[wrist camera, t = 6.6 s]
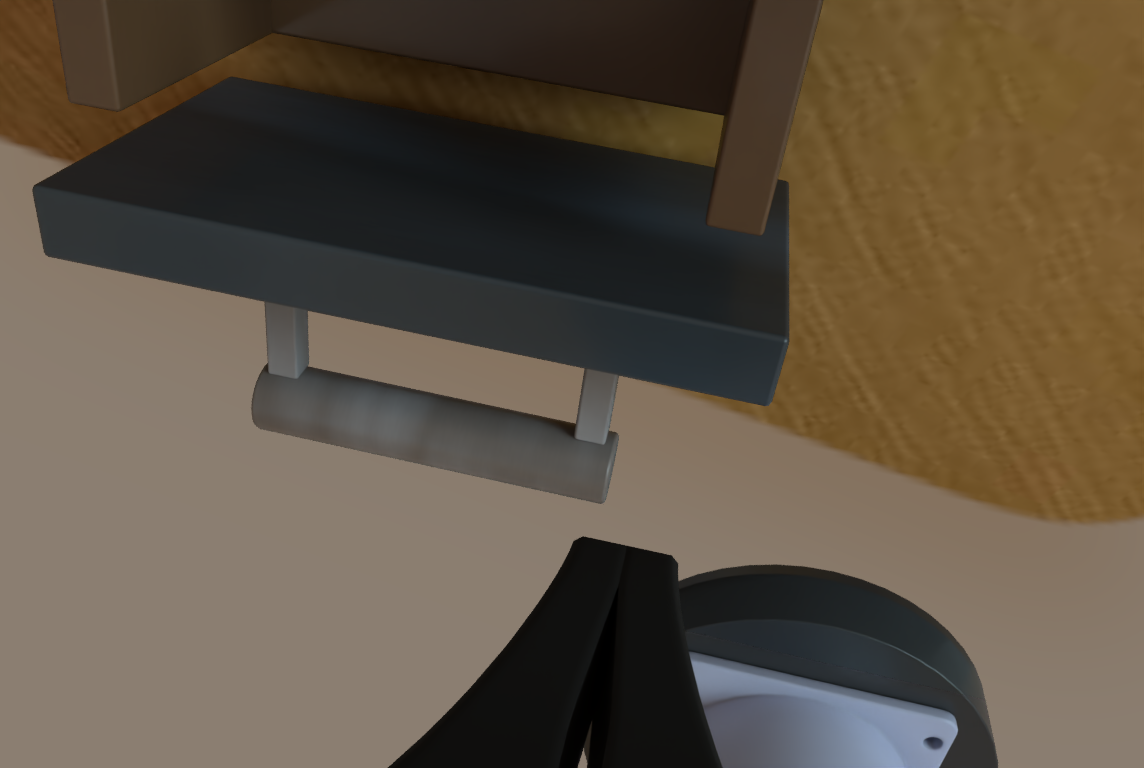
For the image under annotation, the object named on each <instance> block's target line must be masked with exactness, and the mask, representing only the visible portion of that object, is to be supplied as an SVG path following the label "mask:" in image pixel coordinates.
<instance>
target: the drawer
mask: <svg viewBox="0 0 1144 768" xmlns="http://www.w3.org/2000/svg"><path fill="white" fill-rule="evenodd" d="M822 4H823V0H53V6H54V12H55V18H56V25H57V31H58V37H59V44H60V50H61V56H62V62H63V69H64V75H65V81H66V88H67V94H68V99H69V101H70V102H71V103H75V104H80V105H85V106H90V107H96V108H101V109H106V110H111V111H116V112H118V111H121V110H123V109H125V108H127V107H129V106H131V105H133V104H135V103H137V102H139V101H141V100H143V99H145V98H147V97H149V96H151V95H153V94H154V93H156V92H158V91H160V90H162V89H164V88H166V87H168V86H170V85H172V84H174V83H176V82H178V81H180V80H182V79H184V78H186V77H187V76H189V75H191V74H193V73H195V72H197V71H199V70H201V69H203V68H205V67H207V66H209V65H211V64H213V63H215V62H217V61H219V60H221V59H222V58H224V57H226V56H228V55H230V54H232V53H234V52H236V51H238V50H240V49H242V48H244V47H246V46H248V45H250V44H252V43H254V42H255V41H257V40H259V39H261V38H263V37H265V36H267V35H269V34H271V33H277V34H282V35H288V36H293V37H299V38H304V39H310V40H315V41H321V42H326V43H331V44H337V45H342V46H348V47H353V48H359V49H364V50H370V51H375V52H381V53H386V54H391V55H397V56H402V57H408V58H413V59H419V60H424V61H430V62H435V63H440V64H446V65H451V66H457V67H462V68H468V69H473V70H479V71H484V72H490V73H495V74H500V75H506V76H511V77H517V78H522V79H528V80H533V81H539V82H544V83H549V84H555V85H560V86H566V87H571V88H577V89H582V90H588V91H593V92H599V93H604V94H609V95H615V96H620V97H626V98H631V99H637V100H642V101H648V102H653V103H658V104H664V105H669V106H675V107H680V108H686V109H691V110H697V111H702V112H708V113H713V114H718V115H724V121H723V126H722V132H721V137H720V143H719V148H718V154H717V159H716V165H715V168H714V167H709V166H704V165H698V164H693V163H688V162H682V161H677V160H672V159H667V158H661V157H656V156H651V155H645V154H640V153H635V152H629V151H624V150H619V149H613V148H608V147H603V146H597V145H592V144H587V143H582V142H576V141H571V140H566V139H560V138H555V137H550V136H544V135H539V134H534V133H528V132H523V131H518V130H512V129H507V128H502V127H497V126H491V125H486V124H481V123H475V122H470V121H465V120H459V119H454V118H449V117H443V116H438V115H433V114H427V113H422V112H417V111H412V110H406V109H401V108H396V107H390V106H385V105H380V104H374V103H369V102H364V101H358V100H353V99H348V98H342V97H337V96H332V95H327V94H321V93H316V92H311V91H305V90H300V89H295V88H289V87H284V86H279V85H273V84H268V83H263V82H257V81H252V80H247V79H242V78H236V77H229V78H227V79H225V80H223V81H221V82H220V83H218V84H216V85H214V86H212V87H211V88H209V89H207V90H205V91H203V92H202V93H200V94H198V95H196V96H194V97H193V98H191V99H189V100H187V101H185V102H183V103H182V104H180V105H178V106H176V107H174V108H173V109H171V110H169V111H167V112H165V113H164V114H162V115H160V116H158V117H156V118H155V119H153V120H151V121H149V122H147V123H146V124H144V125H142V126H140V127H138V128H137V129H135V130H133V131H131V132H129V133H128V134H126V135H124V136H122V137H120V138H119V139H117V140H115V141H113V142H111V143H110V144H108V145H106V146H104V147H102V148H101V149H99V150H97V151H95V152H93V153H92V154H90V155H88V156H86V157H84V158H83V159H81V160H79V161H77V162H75V163H74V164H72V165H70V166H68V167H66V168H64V169H63V170H61V171H59V172H57V173H56V174H54V175H52V176H50V177H48V178H47V179H45V180H43V181H41V182H39V183H37V184H36V185H34V187H33V196H34V201H35V207H36V212H37V217H38V222H39V228H40V233H41V238H42V243H43V249H44V253H45V254H46V255H47V256H48V257H53V258H58V259H63V260H68V261H72V262H77V263H82V264H87V265H92V266H96V267H101V268H106V269H111V270H115V271H120V272H125V273H130V274H134V275H140V276H145V277H149V278H154V279H158V280H164V281H169V282H173V283H178V284H183V285H187V286H192V287H197V288H202V289H206V290H211V291H216V292H221V293H226V294H231V295H235V296H240V297H245V298H250V299H255V300H259V301H264V302H265V317H266V336H267V355H268V363H267V364H266V365H265V367H264V368H263V370H262V372H261V373H260V375H259V377H258V380H257V382H256V385H255V389H254V393H253V398H252V419H253V422H254V424H255V425H256V426H257V427H258V428H260V429H263V430H268V431H272V432H278V433H282V434H286V435H291V436H295V437H300V438H304V439H309V440H313V441H318V442H322V443H327V444H331V445H336V446H341V447H345V448H350V449H354V450H359V451H363V452H368V453H372V454H377V455H381V456H386V457H390V458H395V459H399V460H404V461H409V462H413V463H418V464H422V465H427V466H431V467H436V468H440V469H445V470H450V471H454V472H458V473H463V474H468V475H473V476H477V477H481V478H486V479H490V480H495V481H500V482H504V483H508V484H513V485H518V486H522V487H527V488H531V489H536V490H540V491H545V492H549V493H554V494H558V495H563V496H567V497H572V498H577V499H581V500H586V501H590V502H595V503H600V504H602V503H604V502H605V500H606V497H607V493H608V488H609V484H610V480H611V475H612V470H613V466H614V461H615V456H616V451H617V446H618V440H619V436H618V434H617V433H616V432H612V431H609V428H610V422H611V416H612V411H613V406H614V400H615V394H616V389H617V384H618V378H619V376H624V377H628V378H633V379H638V380H643V381H648V382H652V383H657V384H662V385H667V386H672V387H676V388H681V389H686V390H691V391H696V392H700V393H705V394H710V395H715V396H720V397H724V398H729V399H734V400H739V401H744V402H748V403H753V404H758V405H763V406H769V404H770V403H771V402H772V400H773V396H774V393H775V389H776V386H777V382H778V379H779V375H780V372H781V369H782V365H783V362H784V358H785V355H786V351H787V348H788V345H789V184H788V182H786V181H783V180H778V176H779V172H780V168H781V165H782V161H783V157H784V153H785V149H786V145H787V141H788V137H789V133H790V129H791V125H792V122H793V118H794V114H795V110H796V106H797V102H798V98H799V94H800V90H801V86H802V82H803V78H804V75H805V71H806V67H807V63H808V59H809V55H810V51H811V47H812V43H813V39H814V35H815V32H816V28H817V24H818V20H819V16H820V12H821V8H822ZM308 311H312V312H317V313H322V314H326V315H331V316H336V317H341V318H346V319H350V320H355V321H360V322H365V323H369V324H374V325H379V326H385V327H389V328H394V329H398V330H403V331H408V332H413V333H418V334H423V335H427V336H432V337H437V338H442V339H446V340H451V341H456V342H461V343H466V344H470V345H475V346H480V347H485V348H489V349H494V350H500V351H504V352H509V353H513V354H518V355H523V356H528V357H533V358H537V359H542V360H547V361H552V362H557V363H562V364H566V365H571V366H576V367H580V368H585V370H584V376H583V383H582V389H581V395H580V402H579V408H578V415H577V420H576V424H575V423H570V422H565V421H561V420H556V419H550V418H547V417H542V416H537V415H533V414H528V413H523V412H518V411H514V410H509V409H504V408H500V407H495V406H490V405H485V404H481V403H476V402H472V401H467V400H462V399H458V398H453V397H448V396H444V395H438V394H434V393H430V392H425V391H420V390H416V389H411V388H406V387H402V386H397V385H392V384H387V383H383V382H378V381H373V380H369V379H364V378H359V377H355V376H350V375H345V374H341V373H336V372H331V371H327V370H322V369H317V368H313V367H308V364H309V348H308Z"/></svg>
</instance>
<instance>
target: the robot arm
mask: <svg viewBox="0 0 1144 768" xmlns="http://www.w3.org/2000/svg"><path fill="white" fill-rule="evenodd" d="M591 722H592V726H591V736H590V745H589V754H588V764H587V768H939V767H940V765H941V763H942V761H943V759H944V758H945V756H946V754H947V752H948V750H949V748H950V747H951V745H952V743H953V741H954V739H955V737H956V735H957V732H958V728H957V722H956V719H955V717H954V716H953V715H952V714H951V713H950V712H947V711H945V710H942V709H937V708H933V707H929V706H924V705H920V704H916V703H912V702H907V701H903V700H899V699H894V698H890V697H886V696H881V695H877V694H873V693H868V692H864V691H860V690H855V689H851V688H847V687H842V686H838V685H834V684H830V683H825V682H821V681H817V680H812V679H808V678H804V677H799V676H795V675H791V674H786V673H782V672H778V671H773V670H769V669H765V668H761V667H756V666H752V665H748V664H743V663H739V662H735V661H730V660H726V659H722V658H717V657H713V656H709V655H704V654H700V653H696V652H691V651H689V650H688V645H687V640H686V635H685V630H684V624H683V618H682V612H681V605H680V596H679V585H678V563H677V562H676V561H675V559H674V558H673V557H672V556H671V555H667V554H663V553H657V552H653V551H649V550H644V549H639V548H635V547H630V546H625V545H621V544H616V543H611V542H607V541H602V540H597V539H593V538H588V537H581V538H579V539H577V540H575V541H574V542H573V544H572V546H571V549H570V551H569V553H568V555H567V557H566V559H565V561H564V563H563V565H562V567H561V568H560V570H559V572H558V574H557V575H556V577H555V578H554V580H553V581H552V583H551V585H550V586H549V588H548V589H547V591H546V592H545V594H544V595H543V597H542V598H541V600H540V601H539V603H538V604H537V606H536V607H535V608H534V610H533V611H532V612H531V614H530V615H529V616H528V618H527V619H526V620H525V622H524V623H523V625H522V626H521V627H520V628H519V630H518V631H517V632H516V634H515V635H514V637H513V638H512V639H511V640H510V642H509V643H508V644H507V646H506V647H505V648H504V649H503V651H502V652H501V653H500V654H499V655H498V656H497V657H496V659H495V660H494V661H493V662H492V663H491V664H490V666H489V667H488V668H487V669H486V670H485V671H484V673H483V674H482V675H481V676H480V677H479V678H478V680H477V681H476V682H475V683H474V684H473V685H472V686H471V688H470V689H469V690H468V691H467V692H466V693H465V694H464V695H463V696H462V697H461V698H460V700H458V702H457V703H456V704H455V705H454V706H453V707H452V708H451V709H450V710H449V711H448V712H447V713H446V714H445V715H444V716H443V717H442V718H441V719H440V720H439V721H438V722H437V723H436V724H435V725H434V726H433V727H432V728H431V729H430V730H429V731H428V732H427V733H426V734H425V735H424V736H422V738H420V739H419V740H418V741H417V742H416V743H415V744H414V745H413V746H411V748H409V749H408V750H407V751H406V752H405V753H404V754H403V755H401V756H400V757H399V758H398V759H397V760H396V761H395V762H394V763H393V764H392V765H390V766H389V767H388V768H578V764H579V761H580V758H581V755H582V751H583V748H584V745H585V742H586V738H587V735H588V732H589V729H590V725H591ZM928 737H934V738H928Z"/></svg>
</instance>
